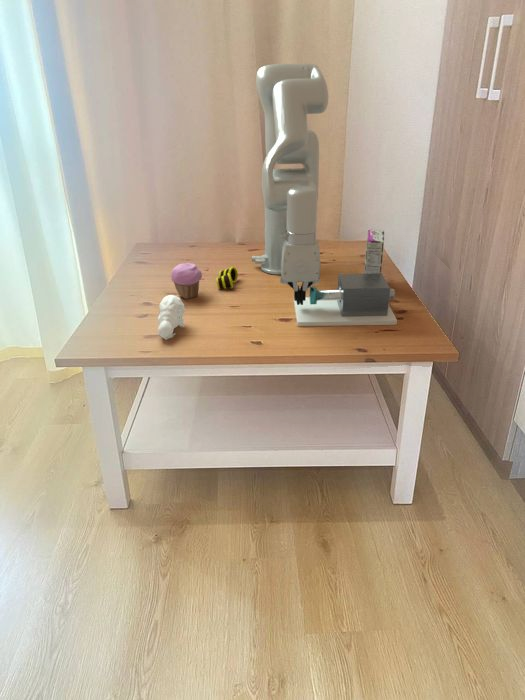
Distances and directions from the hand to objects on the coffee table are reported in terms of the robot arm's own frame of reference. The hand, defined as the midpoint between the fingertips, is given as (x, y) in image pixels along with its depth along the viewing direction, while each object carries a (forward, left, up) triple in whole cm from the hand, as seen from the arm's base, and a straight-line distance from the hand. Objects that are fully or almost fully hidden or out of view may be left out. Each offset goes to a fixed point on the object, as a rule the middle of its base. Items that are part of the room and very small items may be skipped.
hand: (299, 302), depth 146 cm
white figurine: (-34, -10, -3) cm, 36 cm away
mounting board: (+12, 0, -3) cm, 12 cm away
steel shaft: (+14, 0, 0) cm, 14 cm away
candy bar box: (+23, +17, -3) cm, 29 cm away
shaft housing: (+17, 0, -2) cm, 17 cm away
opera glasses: (-21, +21, -4) cm, 30 cm away
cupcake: (-32, +13, -3) cm, 35 cm away
